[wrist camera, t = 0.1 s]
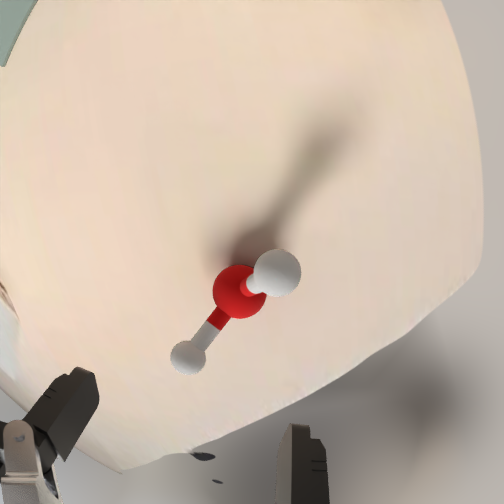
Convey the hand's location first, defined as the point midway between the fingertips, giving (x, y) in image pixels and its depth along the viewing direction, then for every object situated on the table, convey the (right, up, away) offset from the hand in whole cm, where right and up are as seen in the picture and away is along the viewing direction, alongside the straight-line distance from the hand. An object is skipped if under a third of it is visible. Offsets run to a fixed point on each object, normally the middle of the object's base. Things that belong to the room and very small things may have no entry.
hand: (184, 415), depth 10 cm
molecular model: (+2, +4, +23) cm, 24 cm away
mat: (-31, +40, +9) cm, 51 cm away
